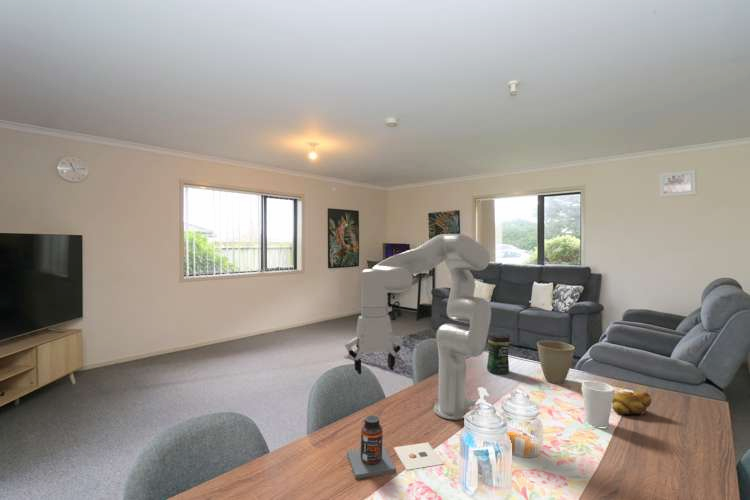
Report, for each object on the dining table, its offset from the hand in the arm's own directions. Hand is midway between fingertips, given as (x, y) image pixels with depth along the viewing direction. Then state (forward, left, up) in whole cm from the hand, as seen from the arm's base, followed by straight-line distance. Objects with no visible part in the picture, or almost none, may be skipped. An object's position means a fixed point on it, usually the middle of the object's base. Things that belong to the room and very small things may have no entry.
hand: (374, 370), depth 106 cm
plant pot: (-93, -33, -24) cm, 101 cm away
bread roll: (-97, -2, -24) cm, 100 cm away
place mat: (+2, +5, -24) cm, 24 cm away
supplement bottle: (+2, +5, -23) cm, 24 cm away
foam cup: (-78, +3, -24) cm, 81 cm away
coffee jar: (-75, -49, -24) cm, 92 cm away
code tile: (-12, +5, -24) cm, 27 cm away
